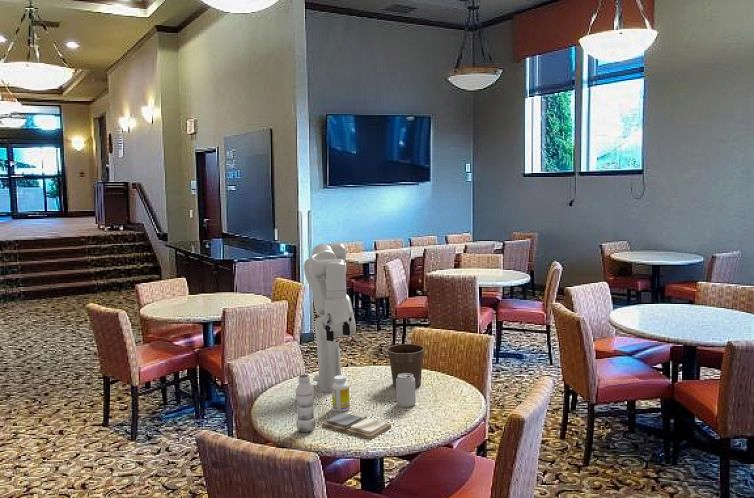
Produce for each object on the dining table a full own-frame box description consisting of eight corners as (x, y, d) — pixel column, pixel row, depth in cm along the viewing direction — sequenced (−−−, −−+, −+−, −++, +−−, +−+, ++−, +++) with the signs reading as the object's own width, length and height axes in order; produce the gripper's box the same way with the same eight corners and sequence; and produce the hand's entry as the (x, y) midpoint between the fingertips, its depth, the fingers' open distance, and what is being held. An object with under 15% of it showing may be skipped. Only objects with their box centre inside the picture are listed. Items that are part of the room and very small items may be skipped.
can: (414, 408, 238) (413, 378, 237) (395, 407, 240) (394, 377, 239) (417, 401, 246) (416, 372, 244) (398, 400, 247) (397, 371, 246)
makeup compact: (322, 426, 224) (322, 421, 224) (343, 415, 233) (343, 410, 233) (371, 439, 211) (370, 433, 211) (391, 427, 220) (390, 422, 220)
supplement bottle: (352, 406, 242) (351, 375, 241) (346, 413, 236) (344, 380, 235) (336, 405, 245) (335, 373, 243) (330, 411, 238) (328, 379, 237)
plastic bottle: (297, 427, 223) (294, 374, 221) (316, 426, 224) (313, 372, 222) (296, 435, 217) (293, 379, 215) (315, 433, 217) (313, 378, 215)
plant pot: (381, 382, 270) (380, 346, 269) (414, 376, 277) (413, 341, 276) (398, 393, 256) (397, 355, 254) (432, 387, 263) (431, 350, 261)
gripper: (343, 289, 245) (345, 332, 247) (314, 297, 231) (316, 341, 233) (358, 291, 240) (359, 334, 242) (329, 298, 226) (331, 344, 228)
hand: (338, 337), depth 237 cm, fingers open, 9 cm apart
